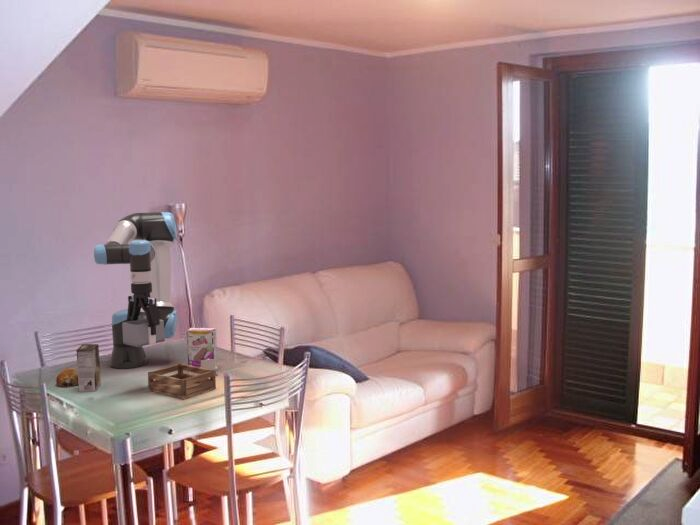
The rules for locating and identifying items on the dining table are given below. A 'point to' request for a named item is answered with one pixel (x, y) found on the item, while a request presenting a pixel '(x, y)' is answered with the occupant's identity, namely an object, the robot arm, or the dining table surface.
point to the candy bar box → (201, 345)
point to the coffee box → (88, 367)
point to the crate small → (140, 332)
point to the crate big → (181, 381)
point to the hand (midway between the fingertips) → (144, 341)
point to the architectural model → (208, 364)
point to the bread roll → (68, 377)
